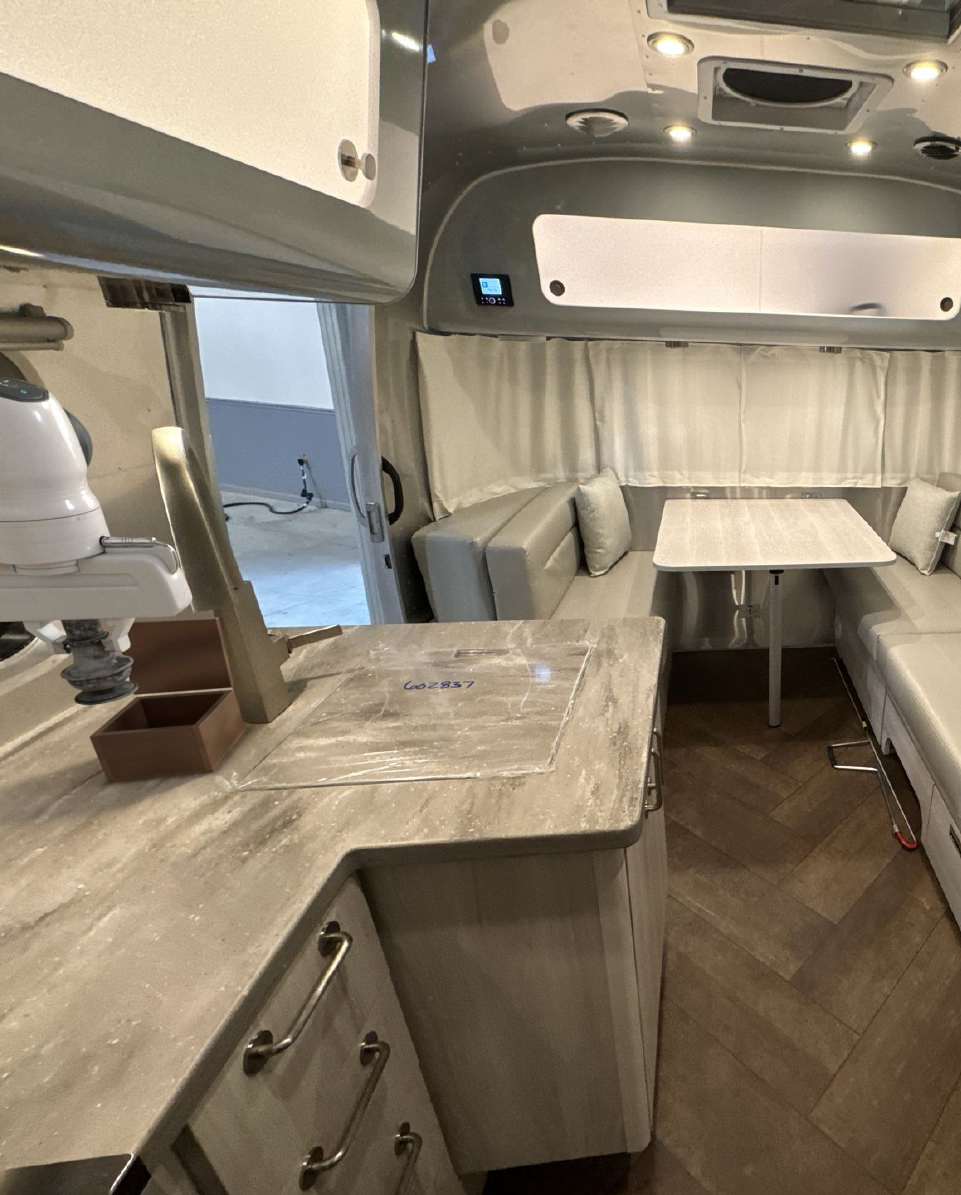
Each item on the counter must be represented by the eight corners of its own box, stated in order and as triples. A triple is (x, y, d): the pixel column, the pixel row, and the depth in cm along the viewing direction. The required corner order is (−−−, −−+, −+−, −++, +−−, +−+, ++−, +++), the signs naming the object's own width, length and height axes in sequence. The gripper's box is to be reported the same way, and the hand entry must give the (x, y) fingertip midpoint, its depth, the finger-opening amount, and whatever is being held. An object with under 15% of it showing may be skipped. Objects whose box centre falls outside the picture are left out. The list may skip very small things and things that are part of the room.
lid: (215, 618, 92) (232, 608, 96) (113, 623, 88) (135, 612, 93) (231, 687, 95) (247, 675, 99) (133, 695, 91) (153, 681, 96)
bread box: (214, 773, 90) (198, 727, 87) (108, 784, 86) (88, 736, 83) (246, 733, 98) (233, 689, 96) (152, 741, 95) (136, 696, 92)
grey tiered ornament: (56, 700, 73) (18, 605, 69) (118, 676, 79) (86, 587, 74) (94, 710, 72) (58, 614, 68) (154, 686, 78) (124, 595, 73)
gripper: (186, 528, 74) (215, 635, 79) (-51, 527, 68) (-2, 643, 73) (153, 545, 69) (187, 659, 74) (-108, 546, 63) (-50, 669, 68)
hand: (91, 651), depth 73 cm, fingers closed on grey tiered ornament, 3 cm apart
